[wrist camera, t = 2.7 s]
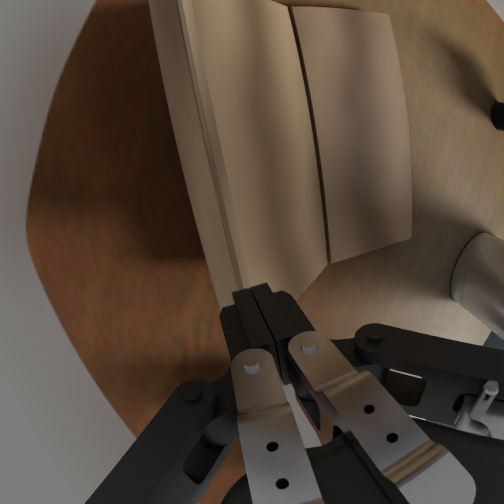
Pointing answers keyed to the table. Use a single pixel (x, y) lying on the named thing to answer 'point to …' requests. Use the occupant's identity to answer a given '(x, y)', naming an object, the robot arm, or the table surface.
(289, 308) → the robot arm
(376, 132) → the fixed plank
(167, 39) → the board
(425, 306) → the table surface
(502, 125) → the figurine
